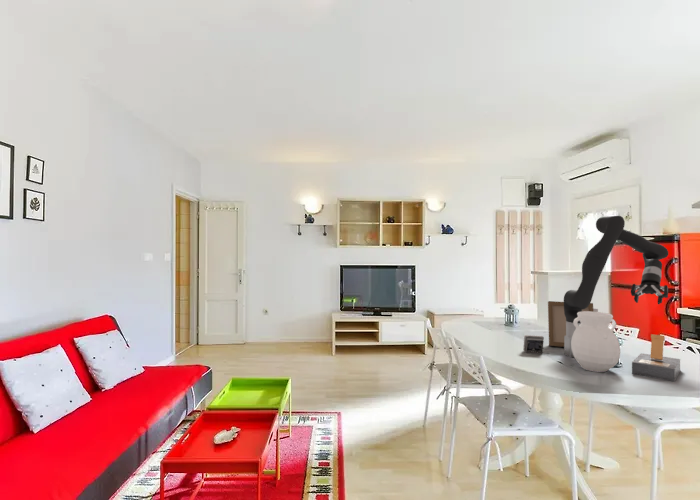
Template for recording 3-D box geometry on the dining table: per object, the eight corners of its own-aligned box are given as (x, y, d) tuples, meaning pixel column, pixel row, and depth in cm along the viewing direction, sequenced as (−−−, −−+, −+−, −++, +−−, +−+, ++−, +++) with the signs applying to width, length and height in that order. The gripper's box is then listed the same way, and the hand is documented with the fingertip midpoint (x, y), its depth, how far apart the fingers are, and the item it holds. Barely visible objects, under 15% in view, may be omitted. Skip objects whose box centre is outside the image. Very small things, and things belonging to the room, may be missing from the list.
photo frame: (595, 351, 203) (595, 304, 203) (549, 347, 211) (549, 302, 212) (590, 345, 216) (589, 301, 217) (547, 342, 225) (547, 299, 226)
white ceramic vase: (582, 374, 162) (582, 315, 162) (564, 362, 180) (564, 309, 181) (630, 376, 159) (629, 317, 160) (606, 364, 178) (606, 310, 178)
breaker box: (632, 373, 164) (632, 361, 164) (640, 363, 179) (640, 352, 179) (674, 381, 154) (674, 368, 154) (680, 370, 169) (680, 358, 169)
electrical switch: (542, 352, 200) (542, 335, 199) (545, 355, 195) (545, 337, 194) (523, 351, 202) (523, 334, 201) (525, 354, 197) (525, 337, 196)
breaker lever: (649, 357, 168) (650, 334, 171) (650, 358, 169) (651, 335, 173) (662, 359, 164) (664, 335, 168) (663, 361, 166) (664, 337, 169)
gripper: (632, 271, 195) (628, 296, 187) (668, 272, 184) (665, 298, 176) (635, 281, 198) (630, 306, 190) (670, 282, 188) (667, 308, 180)
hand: (647, 302), depth 183 cm, fingers open, 8 cm apart
